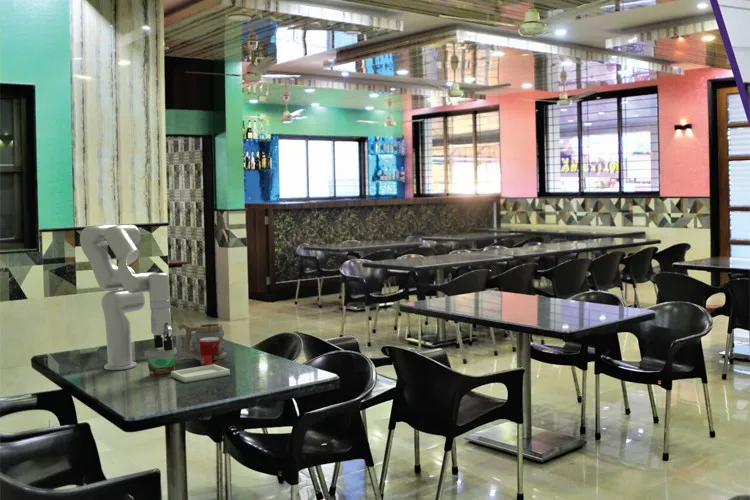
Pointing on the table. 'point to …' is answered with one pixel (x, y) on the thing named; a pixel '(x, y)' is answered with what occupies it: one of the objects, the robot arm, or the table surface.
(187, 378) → the tray
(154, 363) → the food container
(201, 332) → the tankard
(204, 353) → the canned food
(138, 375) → the table surface
